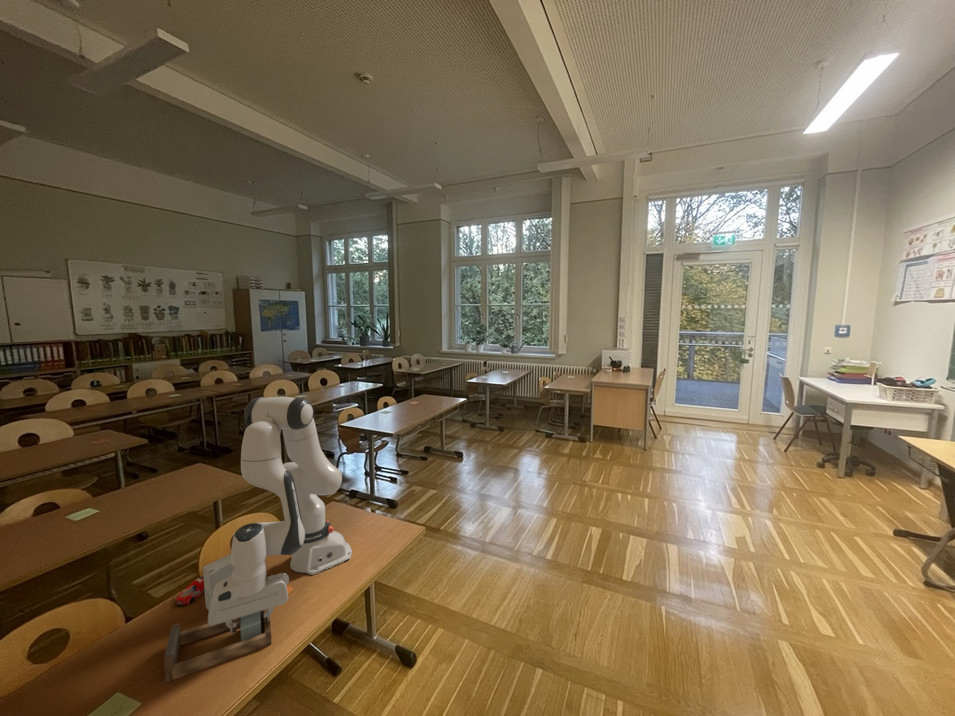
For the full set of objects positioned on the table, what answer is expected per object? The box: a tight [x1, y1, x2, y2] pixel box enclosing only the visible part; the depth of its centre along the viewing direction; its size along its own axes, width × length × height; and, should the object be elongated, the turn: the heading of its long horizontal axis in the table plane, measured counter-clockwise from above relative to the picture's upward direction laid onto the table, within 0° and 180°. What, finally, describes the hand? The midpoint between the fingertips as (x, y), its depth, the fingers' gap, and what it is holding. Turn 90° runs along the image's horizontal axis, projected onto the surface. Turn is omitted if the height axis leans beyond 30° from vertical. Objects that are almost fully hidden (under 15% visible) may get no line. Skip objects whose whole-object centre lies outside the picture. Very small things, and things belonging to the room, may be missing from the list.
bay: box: [163, 609, 272, 684], centre depth 109 cm, size 24×14×6 cm, turn 121°
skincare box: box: [202, 553, 233, 611], centre depth 123 cm, size 8×6×15 cm
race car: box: [175, 575, 205, 606], centre depth 129 cm, size 13×5×4 cm, turn 169°
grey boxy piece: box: [240, 611, 262, 641], centre depth 112 cm, size 5×8×6 cm, turn 31°
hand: (250, 625), depth 112 cm, fingers open, 7 cm apart
